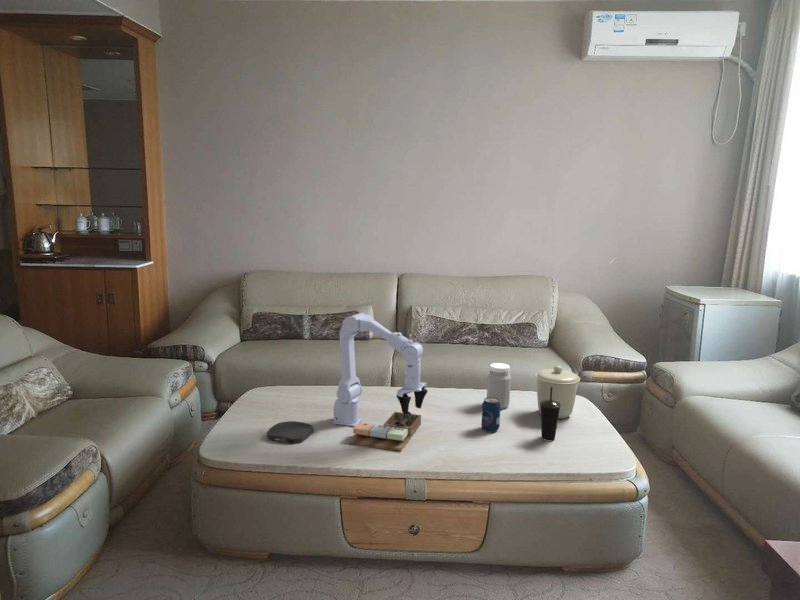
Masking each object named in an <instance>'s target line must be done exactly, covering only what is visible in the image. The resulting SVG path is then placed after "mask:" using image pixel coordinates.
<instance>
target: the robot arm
mask: <svg viewBox="0 0 800 600" xmlns="http://www.w3.org/2000/svg"><path fill="white" fill-rule="evenodd" d="M360 332H371V333H373V334H374V335H376V336H378V337H380V338H382V339H383V340H386V341H387V345H388V346H389V347H390V348H393V349H394V350H395V351H397V352H399V353H400V354H402V357H403V358H404V363H405V364H404V385H403V387H401V388H400V389H398V390H397V391H396V399H398V400H397V401H398V402H399V405H400V408H401V413H405V414H408V412H409V407H410V402H411V399H412V397H411V396H409V395H408V394H411V393H414V404H415V408H417V409H422V406H423V402H424V400H425V397H426V395H427V394H428V389H427V384H428V382H425V381H421V368H422V367H421V366H422V365H421V364H422V363H421V362H422V361H421V359H422V356H423V354H424V346H423V345H422V344H421V343H420V342H419V341H413V339H408V338H407V337H406V336H404V335H403V333H401V332H397V331H395V332H393V331H391V330H389V329H387V328H386V327H385V326H383V325H382V324H381V323H379V322H378V321H376V320H375V319H374V318H373V317H372V316H371V315H369V314H367V313H366V312H363V311H362V312H359V313H357V314H353V315H350V316H347V317H346V318H344V319H343V321H342V326H341V327H340V330H339V333H338V335H339V349H340V350H339V351H340V366H341V367H340V368H341V378H340V381H339V382H338V385H337V386H338V387H337V390H336V397H337V398H336V400H334V404H333V422H332V423H333V424H335V425H341V426H342V425H343V426H348V427H355V426H356V425H357V424H358V423H359V422H360V423H361V422H362V421H363V418H362V417H359V416H360V415H359V411H360V410H359V406H360V405H359V404H360V403H359V402H360V396H361V394H362V392H363V388H362V385H361V382H360V377H358V376H357V372H356V371H357V369H356V355H355V352H356V350H355V336H356V335H358V333H360Z"/></svg>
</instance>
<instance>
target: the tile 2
mask: <svg viewBox="0 0 800 600" xmlns="http://www.w3.org/2000/svg"><path fill="white" fill-rule="evenodd" d="M390 429H391V427H389V426H383V424H382V425H380V424H374V427H373V428H372V429H371V430H370V436H374V437H381V438H386V437H387V432H388V431H389V430H390Z"/></svg>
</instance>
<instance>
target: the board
mask: <svg viewBox="0 0 800 600" xmlns="http://www.w3.org/2000/svg"><path fill="white" fill-rule="evenodd" d="M403 414H404V413H402V411H401V412H399V411H394V412H393V413H392V414H391V415H390V417H389V418H388V419H387V420H386V421H385V422H384V423H383V424H382V426H389V427H391V428H392V427H396V428H403V429H408V434H407V436H406V437H405V438H404V440H403V441H401V440H394V439H388V438H387V437H386V438H381V437H374V436H370V435H369V436H367V435H361V434H353V435H352V436H351V437H350V438H349V440H348V444H350V445H353V446H354V445H355V446H356V445H357V446H361V447H367V446H369V448H374V447H376V449H381V448H383V449H382V450H387V449H392V450H391V451H394V450H398V451H397V452H400V451H403V450H404V449H405V447H407V445H408V443H409V442H410V441H411V439H412V438H413V437H414V435H415V433H416V432H417V431H418V429H419V428H420V427H421V425H422V415H421V414H416V413H411V419H410V420H408V421H406V422H405V424H407V423H411V424H410V426H409V427H408V426H406V427H402V426H398V425H392V422H394V421H395V420H398V421H400V418H401V415H403ZM419 426H420V427H419ZM416 430H417V431H416ZM413 434H414V435H413ZM411 437H412V438H411ZM409 440H410V441H409ZM406 444H407V445H406ZM403 448H404V449H403ZM402 449H403V450H402Z"/></svg>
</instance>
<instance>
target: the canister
mask: <svg viewBox="0 0 800 600" xmlns="http://www.w3.org/2000/svg"><path fill="white" fill-rule="evenodd" d="M534 377H535V378H536V395H537V408H538V411H539V412H540V414H541V405H540V402H541V401H544V400H550V390H551V387H553V388H552V400H555V401H557V402H559V403H560V404H561V407H560V411H559V417H558V420H560V419H566V418H569V417H570V416H571V415H572V413H573V411H574V406H575V402H576V396H577V391H578V387H579V383H580V382H581V377H580V376H579V375H577V374H576V373H574V372H572V371H569V370H566V369H563V367H562V365H555V366H553V368H546V369H545V368H544V369H541V370H539V371H537V372H536V373H535V374H534Z"/></svg>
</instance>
